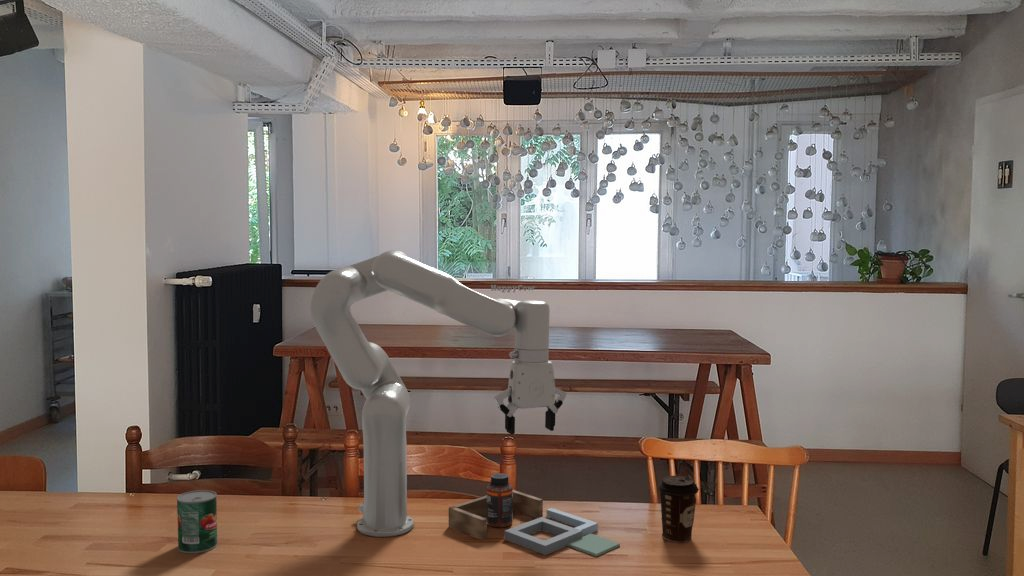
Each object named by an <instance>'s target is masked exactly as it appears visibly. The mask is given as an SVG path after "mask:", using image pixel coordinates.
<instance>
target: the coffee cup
mask: <svg viewBox="0 0 1024 576" xmlns="http://www.w3.org/2000/svg"><path fill="white" fill-rule="evenodd" d="M661 481H662V482H661V483H660V484H659V486H658V490H659V492H660V493H659V495H660V511H661V526H662V527H661V529H662V532H661V533H662V534H661V538H662V539H664V540H666V541H668V542H672V543H686V542H688V541H690V540H691V539H692V534H693V533H692V532H693V526H694V523H695V522H694V521H695V514H696V513H695V512H696V504H697V498H696V494H697V493H698V492H699V490H700V489H699V487H698V485H697V483H695V480H694V479H693V478H692V477H690V476H682V475H669V476H665V477H663V478H662V479H661Z"/></svg>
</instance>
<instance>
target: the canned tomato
mask: <svg viewBox="0 0 1024 576" xmlns="http://www.w3.org/2000/svg"><path fill="white" fill-rule="evenodd" d="M217 496H218V495H217V492H216V491H213V490H207V489H206V490H205V489H196V490H192V491H191V490H190V491H187V492H184V493H180V494H179V495H178V496H177V497H176V502H177V503H176V509H177V510H176V511H177V512H176V513H177V542H178V543H177V544H178V545H177V550H178V552H181V553H183V554H200V553H205V552H209V551H211V550H214V549H215V548H216V547H218V517H217V515H218V509H217V507H218V505H217V503H218V502H217Z"/></svg>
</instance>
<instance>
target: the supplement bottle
mask: <svg viewBox="0 0 1024 576" xmlns="http://www.w3.org/2000/svg"><path fill="white" fill-rule="evenodd" d="M486 487H487V488H486V495H487V516H486V519H487V525H488V526H490V527H492V526H493V528H505V527H506V526H507V527H509V526H511V525H512V524H513V522H514V521H513V519H514V518H513V517H514V516H513V515H514V514H513V513H514V511H513V490H514V489H513V485H511V484H510V483H509V474H507V473H499V472H498V473H493V474H491V475H490V483H489V484H488V485H487V486H486Z"/></svg>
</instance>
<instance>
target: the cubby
mask: <svg viewBox="0 0 1024 576" xmlns="http://www.w3.org/2000/svg"><path fill="white" fill-rule="evenodd" d="M543 500H544V499H542V498H539V497H537V496H534V495H531V494H527V493H525V492H521V491H519V490H518V491H517V490H515V489H513V512H516V511H517V513H519V512H520V513H519V514H522V513H524V514H523V515H525V514H526V516H528V515H529V516H528V517H531V516H532V518H534V517H535V518H534V519H537V518H540V517H543V518H544V516H543V513H544V512H543V508H544V504H543V503H544V501H543ZM485 516H486V517H485ZM487 527H488V523H487V494H486V495H484V496H481V497H477V498H474V499H472V500H468V501H465V502H462V503H459V504H458V503H457V504H455V505H453V506H450V507H448V528H451V529H453V530H455V531H458V532H461V533H463V534H465V533H466V535H468V534H469V535H468V536H470V535H472V536H471V537H473V536H474V537H473V538H475V537H477V538H476V539H478V538H479V539H478V540H481V539H482V540H481V541H485V540H487V539H488V536H487V535H488V534H487V533H488V532H487V531H488V528H487ZM486 538H487V539H486ZM484 539H485V540H484Z"/></svg>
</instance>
